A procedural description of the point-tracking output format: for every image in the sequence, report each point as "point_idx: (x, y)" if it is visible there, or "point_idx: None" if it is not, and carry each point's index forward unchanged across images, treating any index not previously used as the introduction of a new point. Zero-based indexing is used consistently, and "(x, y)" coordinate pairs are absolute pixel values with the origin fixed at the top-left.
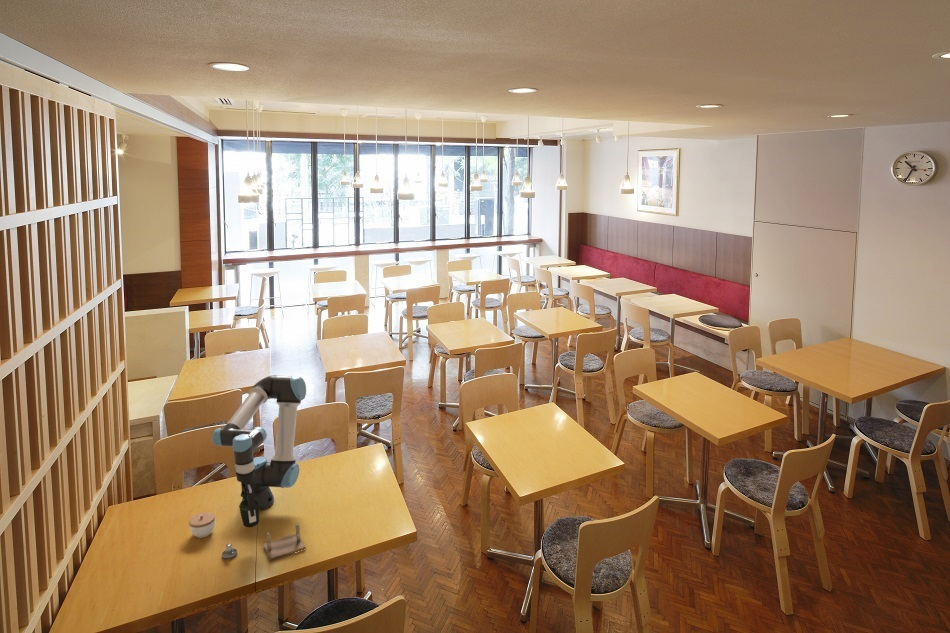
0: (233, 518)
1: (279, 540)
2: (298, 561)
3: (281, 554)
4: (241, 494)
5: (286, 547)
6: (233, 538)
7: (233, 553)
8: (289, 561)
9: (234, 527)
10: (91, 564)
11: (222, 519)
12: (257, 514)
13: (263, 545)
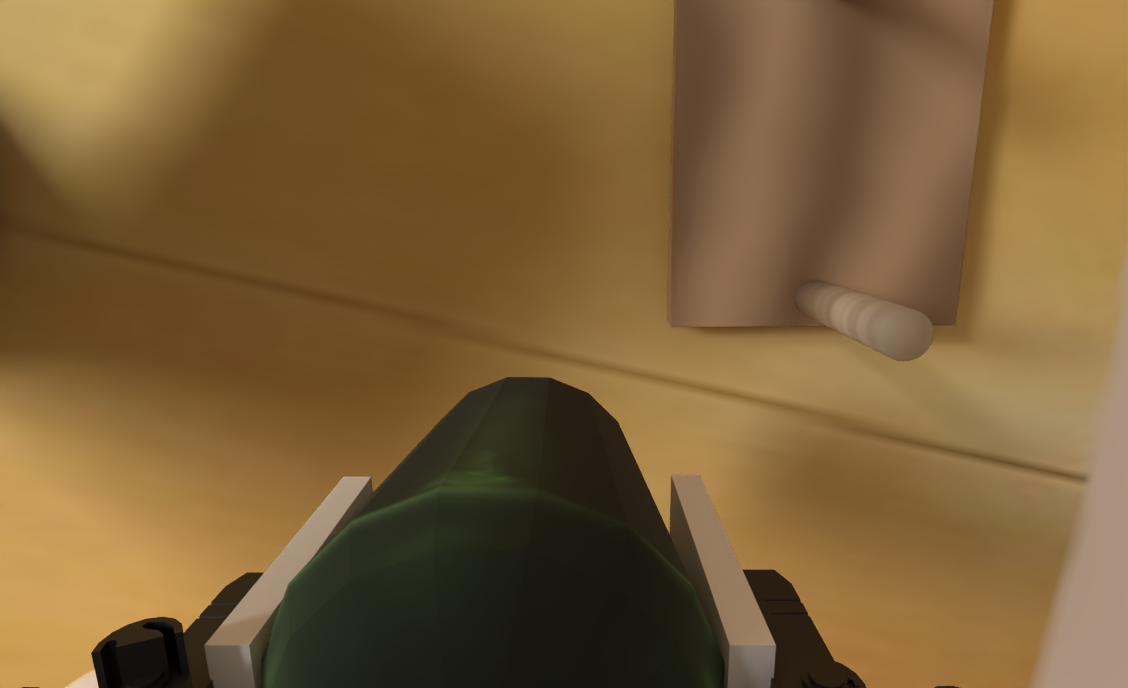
0: (46, 453)
1: (706, 165)
2: (1114, 78)
3: (963, 210)
4: None
5: (874, 131)
6: None
7: None
8: (1051, 159)
9: (206, 474)
10: None
11: (25, 536)
12: (622, 460)
13: (681, 324)
